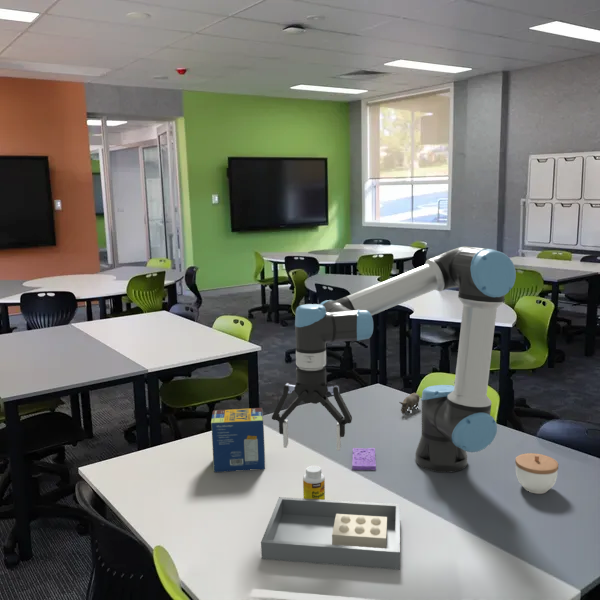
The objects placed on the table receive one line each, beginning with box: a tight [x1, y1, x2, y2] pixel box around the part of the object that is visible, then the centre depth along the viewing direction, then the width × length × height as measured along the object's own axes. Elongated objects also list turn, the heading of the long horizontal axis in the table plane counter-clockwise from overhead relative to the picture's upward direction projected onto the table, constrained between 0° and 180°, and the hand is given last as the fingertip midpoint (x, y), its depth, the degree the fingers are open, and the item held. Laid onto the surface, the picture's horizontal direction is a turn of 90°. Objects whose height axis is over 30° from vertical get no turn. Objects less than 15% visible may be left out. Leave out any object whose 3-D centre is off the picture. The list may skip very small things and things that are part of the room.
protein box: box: [210, 407, 266, 473], centre depth 181 cm, size 10×15×16 cm
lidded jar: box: [514, 452, 559, 495], centre depth 161 cm, size 11×11×9 cm
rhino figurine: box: [399, 392, 420, 415], centre depth 221 cm, size 4×14×6 cm, turn 144°
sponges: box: [351, 447, 377, 471], centre depth 182 cm, size 7×13×2 cm, turn 174°
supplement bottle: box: [302, 465, 326, 500], centre depth 155 cm, size 6×6×10 cm
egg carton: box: [332, 514, 387, 548], centre depth 138 cm, size 12×9×5 cm
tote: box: [260, 496, 401, 571], centre depth 139 cm, size 30×20×5 cm, turn 80°
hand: (312, 447), depth 154 cm, fingers open, 13 cm apart
